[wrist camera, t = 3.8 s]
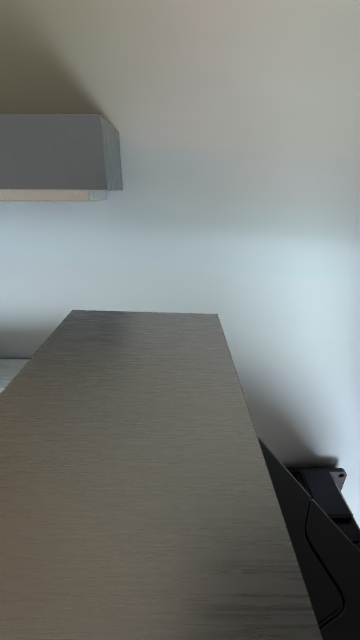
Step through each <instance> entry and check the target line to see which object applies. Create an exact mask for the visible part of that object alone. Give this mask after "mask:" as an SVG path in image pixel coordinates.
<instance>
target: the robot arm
mask: <svg viewBox="0 0 360 640" xmlns="http://www.w3.org/2000/svg"><path fill="white" fill-rule="evenodd" d="M256 435H257V434H256ZM257 438H258V441H259V444H260V447H261V450H262V453H263V456H264V460H265V463H266V466H267V469H268V472H269V475H270V478H271V481H272V484H273V487H274V490H275V494H276V497H277V500H278V503H279V506H280V509H281V512H282V515H283V518H284V521H285V524H286V528H287V531H288V534H289V537H290V540H291V543H292V546H293V549H294V552H295V555H296V558H297V562H298V565H299V568H300V571H301V574H302V577H303V580H304V583H305V586H306V589H307V592H308V596H309V599H310V602H311V605H312V608H313V611H314V614H315V617H316V620H317V623H318V626H319V630H320V633H321V636H322V639H323V640H360V528H359V526H358V525H357V523H356V521H355V519H354V517H353V514H352V512H351V510H350V508H349V506H348V505H347V503H346V501H345V499H344V497H343V495H342V493H341V489H342V487H343V484H344V481H345V479H346V476H347V474H346V472H345V470H344V469H343V468H285V467H284V465H283V464H282V463H281V462H280V461H279V460H278V459H277V457H276V456H275V455H274V454H273V453H272V452H271V451H270V449H269V448H268V447H267V446H266V445H265V444H264V442H263V441H262V440H261V439H260V438H259V437H258V436H257Z"/></svg>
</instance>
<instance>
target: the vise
mask: <svg viewBox="0 0 360 640" xmlns="http://www.w3.org/2000/svg"><path fill="white" fill-rule="evenodd" d="M106 190H123V187H122V173H121V160H120V146H119V132H118V131H117V130H116V129H115V128H114V127H113V126H112V125H111V124H110V123H109V122H108V121H107V120H106V119H105V118H104V117H103V116H102V115H101V114H24V113H0V200H19V201H93V200H104V199H106Z"/></svg>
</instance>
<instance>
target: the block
mask: <svg viewBox="0 0 360 640" xmlns="http://www.w3.org/2000/svg"><path fill="white" fill-rule="evenodd" d="M0 640H323V639H322V636H321V633H320V630H319V626H318V623H317V620H316V617H315V614H314V611H313V608H312V605H311V602H310V599H309V596H308V592H307V589H306V586H305V583H304V580H303V577H302V574H301V571H300V568H299V565H298V562H297V558H296V555H295V552H294V549H293V546H292V543H291V540H290V537H289V534H288V531H287V528H286V524H285V521H284V518H283V515H282V512H281V509H280V506H279V503H278V500H277V497H276V494H275V490H274V487H273V484H272V481H271V478H270V475H269V472H268V469H267V466H266V463H265V460H264V456H263V453H262V450H261V447H260V444H259V441H258V438H257V435H256V432H255V429H254V426H253V422H252V419H251V416H250V413H249V410H248V407H247V404H246V401H245V398H244V395H243V391H242V388H241V385H240V382H239V379H238V376H237V373H236V370H235V367H234V364H233V361H232V357H231V354H230V351H229V348H228V345H227V342H226V339H225V336H224V333H223V330H222V327H221V323H220V320H219V317H218V314H194V313H158V312H122V311H86V310H72V311H71V312H70V314H69V315H68V316H67V317H66V318H65V319H64V320H63V322H62V323H61V324H60V325H59V326H58V327H57V329H56V330H55V331H54V332H53V333H52V334H51V336H50V337H49V338H48V339H47V340H46V341H45V342H44V344H43V345H42V346H41V347H40V348H39V349H38V351H37V352H36V353H35V354H34V355H33V356H32V358H31V359H30V360H29V361H28V362H27V363H26V364H25V366H24V367H23V368H22V369H21V370H20V371H19V373H18V374H17V375H16V376H15V377H14V378H13V379H12V381H11V382H10V383H9V384H8V385H7V386H6V388H5V389H4V390H3V391H2V392H1V393H0Z"/></svg>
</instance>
